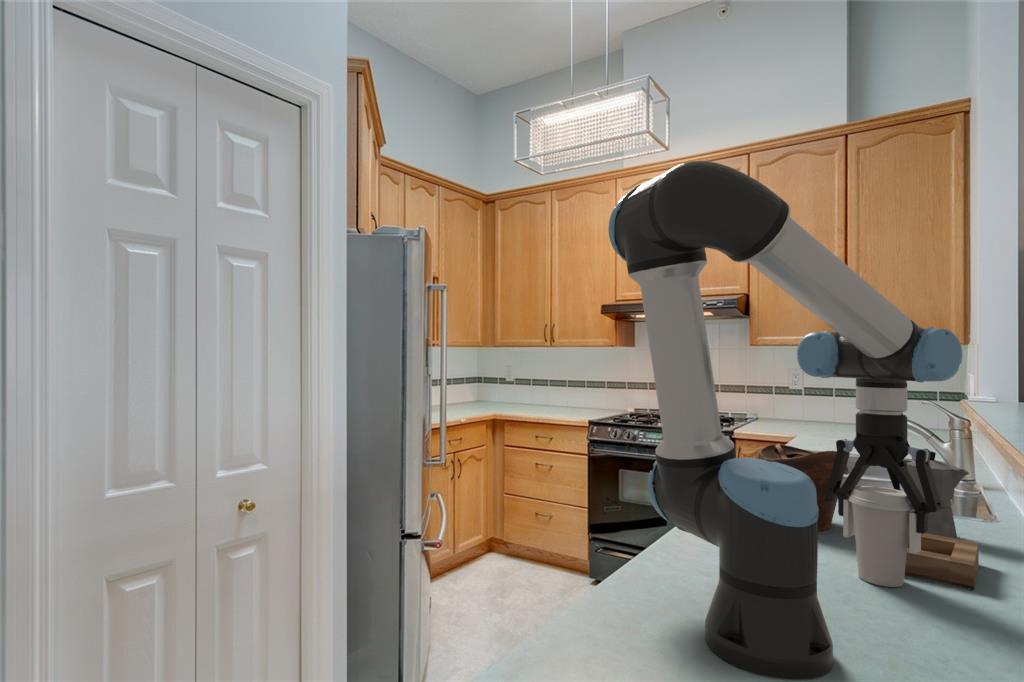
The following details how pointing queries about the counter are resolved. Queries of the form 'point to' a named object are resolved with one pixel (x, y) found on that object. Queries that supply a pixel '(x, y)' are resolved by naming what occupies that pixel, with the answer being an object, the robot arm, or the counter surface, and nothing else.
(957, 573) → the holder
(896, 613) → the counter surface
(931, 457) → the coffeepot
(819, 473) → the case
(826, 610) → the counter surface
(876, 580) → the coffee cup
